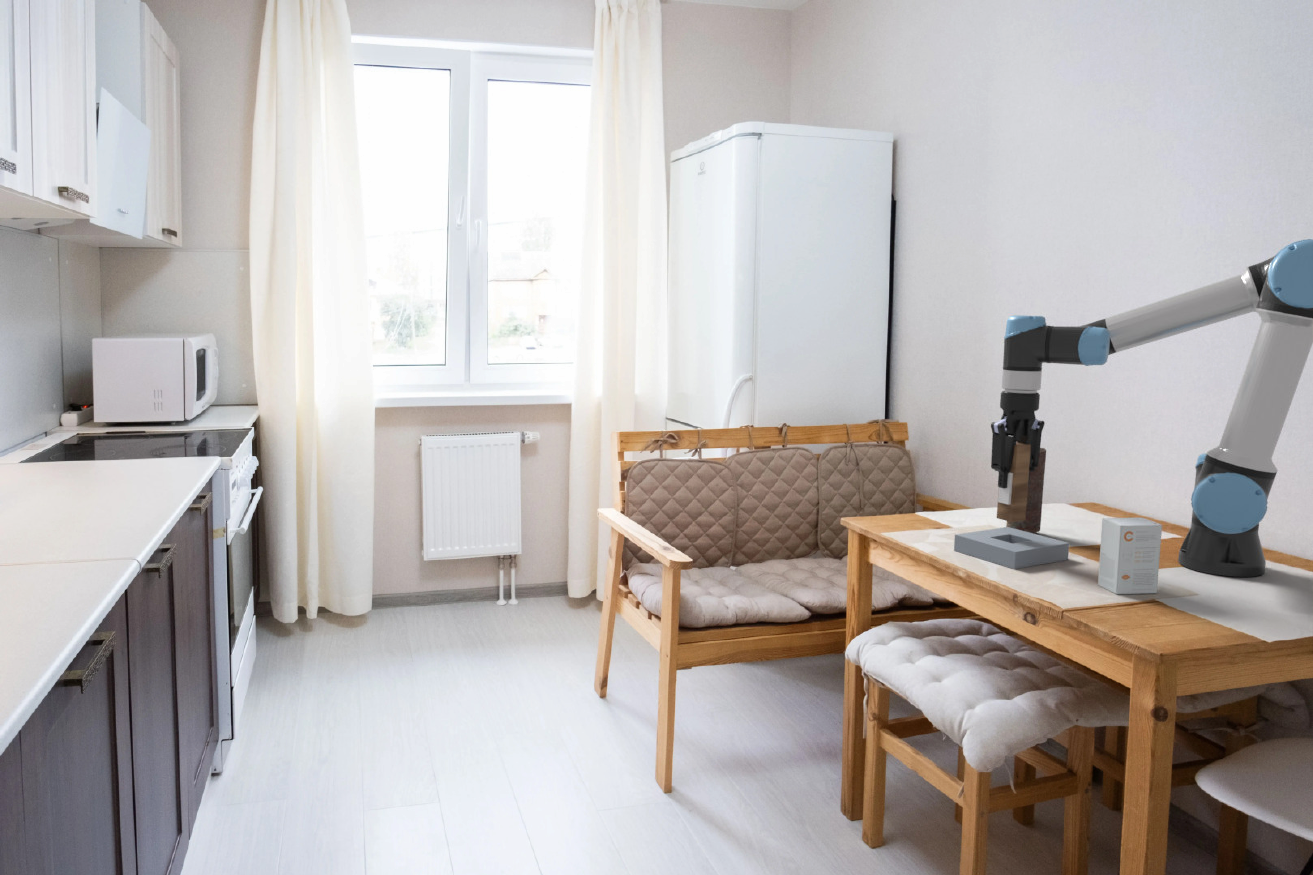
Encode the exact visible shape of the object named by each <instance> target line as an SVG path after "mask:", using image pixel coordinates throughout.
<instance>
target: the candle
mask: <svg viewBox="0 0 1313 875" xmlns="http://www.w3.org/2000/svg"><path fill="white" fill-rule="evenodd" d="M1046 457H1047V449H1046V448H1044V447H1040V454H1039V464H1038V467H1034V468H1035V471H1034V472H1032V471H1030V478H1029V485H1028V490H1027V503H1026V517H1025V520H1024V521H1016V522H1009V521H1006V526H1005V527H1010V528H1014V529H1018V530H1021V531H1025V532H1029V533H1033V534H1036V533H1038V532H1040V531H1041V524H1042V511H1043V510H1042V508H1043V497H1044V496H1043V495H1044V485H1045V484H1044V483H1045V472H1046V471H1045V469H1046V462H1047V461H1046V460H1047V458H1046ZM1032 461H1033V460H1032Z"/></svg>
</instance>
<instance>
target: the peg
mask: <svg viewBox="0 0 1313 875" xmlns="http://www.w3.org/2000/svg"><path fill="white" fill-rule="evenodd" d="M1030 450H1031V445H1030V444H1022V443H1017V442H1016V445H1015V446H1014V456H1013V461H1012V465H1011V470H1010V473H1013V481H1012V494H1011V504H1009V505H1008V504H1004V503H1000V502H998V501H997V507H996V508H997V509H996V519H999V520H1002V521H1006V522H1007V521H1009V522H1016V521H1024V520H1025V517H1026V503H1027V490H1028V476H1029V463H1030ZM997 491H998V493H997V495H998V494H999V490H997Z"/></svg>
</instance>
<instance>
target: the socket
mask: <svg viewBox="0 0 1313 875" xmlns="http://www.w3.org/2000/svg"><path fill="white" fill-rule="evenodd" d="M953 542H954V544H953V551H954V552H958V553H960V552H961V554H964V555H968V556H971V557H974V558H976V559H979V560H980V559H981V560H984V561H986V562H989V563H990V562H991V563H993V564H997V565H1000V566H1003V567H1006V568H1010V569H1013V570H1017V569H1022V568H1023V569H1024V568H1028V567H1033V566H1034V567H1035V566H1039V565H1044V564H1045V565H1046V564H1050V563H1056V562H1062V561H1067V560H1069V553H1070V550H1069V549H1070V542H1066V541H1063V540H1059V539H1055V538H1051V537H1049V536H1044V535H1041V534H1036V533H1029V532H1025V531H1021V530H1018V529H1014V528H1010V527H1006V526H1005V527H1004V526H1003V527H997V528H991V529H983V530H977V531H971V532H964V533H957V534H954V541H953Z"/></svg>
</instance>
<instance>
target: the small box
mask: <svg viewBox="0 0 1313 875" xmlns="http://www.w3.org/2000/svg"><path fill="white" fill-rule="evenodd" d="M1101 520H1102V521H1101V532H1100V533H1101V534H1100V535H1101V536H1100V548H1099V549H1100V550H1099V562H1098V564H1099V565H1098V579H1097V580H1098V581H1097V585H1098V586H1099V587H1102V588H1104V589H1105V590H1106V591H1109V592H1111V593H1112V594H1115V595H1137V594H1140V595H1141V594H1157V593H1158V584H1159V583H1158V582H1159V571H1160V570H1159V568H1160V557H1161V546H1162V545H1161V544H1162V543H1161V542H1162V532H1163V525H1162V524H1161V523H1159V522H1155V521H1153V520H1151V519H1148V518H1144V517H1115V518H1114V517H1106V518H1105V517H1102V519H1101Z"/></svg>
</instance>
